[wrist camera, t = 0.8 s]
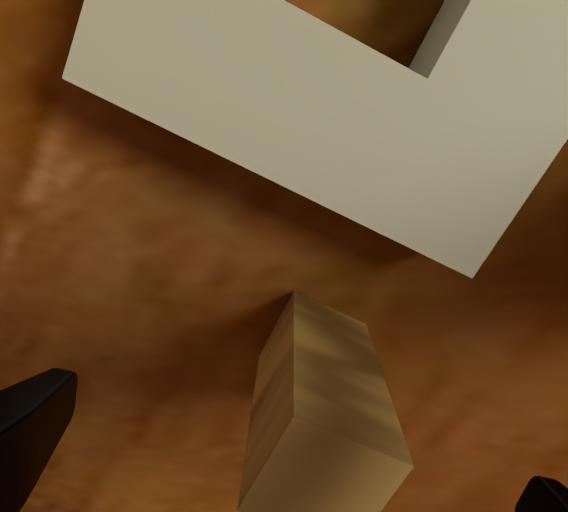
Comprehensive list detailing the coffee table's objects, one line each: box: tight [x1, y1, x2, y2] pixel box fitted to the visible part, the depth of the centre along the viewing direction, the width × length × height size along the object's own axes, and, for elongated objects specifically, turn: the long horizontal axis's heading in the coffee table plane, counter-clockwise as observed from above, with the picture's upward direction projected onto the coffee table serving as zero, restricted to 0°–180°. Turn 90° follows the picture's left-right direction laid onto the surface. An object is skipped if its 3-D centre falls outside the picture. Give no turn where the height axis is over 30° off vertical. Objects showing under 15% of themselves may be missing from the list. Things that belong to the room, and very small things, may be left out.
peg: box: [237, 291, 414, 512], centre depth 17 cm, size 4×4×9 cm
